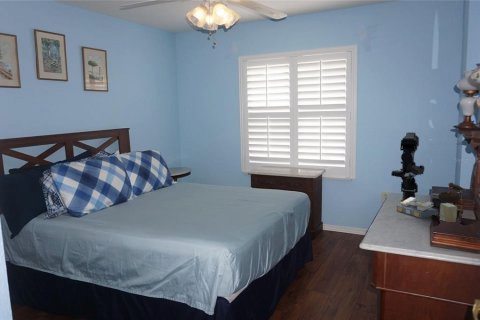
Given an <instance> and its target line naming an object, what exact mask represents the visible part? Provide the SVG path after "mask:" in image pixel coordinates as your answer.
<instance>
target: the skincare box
mask: <svg viewBox="0 0 480 320" xmlns="http://www.w3.org/2000/svg"><path fill="white" fill-rule="evenodd" d="M457 210H458V206H457V205H456V206H455V205H453V203H441V205H440V211H439V213H440V220H443V221H446V222H456V218H457Z"/></svg>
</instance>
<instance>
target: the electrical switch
mask: <svg viewBox="0 0 480 320" xmlns="http://www.w3.org/2000/svg"><path fill="white" fill-rule="evenodd" d="M439 194H440V193H431V195H430V197H431V200H430V202H431V203H433V204H438V205H439V206H440V205H441V203H442V201H440V200H439V198H438V196H439ZM444 203H447V202H444ZM430 208H433V209H437V211H439V212H440V207H437V205H434V206H432V207H430Z"/></svg>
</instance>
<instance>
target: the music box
mask: <svg viewBox="0 0 480 320" xmlns="http://www.w3.org/2000/svg"><path fill="white" fill-rule="evenodd" d="M451 188H452V190H454V191H457V193H455V192H451V190H449V189H451ZM467 190H468V188H463V187H462V186H460V185H459V184H456V183H455V184H454V182H449V183H448V191H447V192H445V191H444V192H440V193H438V194H439V196H438V198H439V200H440V201H442V203H444V202H447V203H450V204H453V205H455V206H457V205H460V209H457V218H463V217H462V216H463V215H462V214H464V210H463V209H462V206H464V205H465V202H462V201H463V200H461V196H460V193H459V191H460V192H461V194H463V191H467ZM460 200H461V201H460ZM431 204H432V203H431ZM432 205H437V207H440V206H439V205H438V204H432ZM438 216H440V212H437V217H438Z"/></svg>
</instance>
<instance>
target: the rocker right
mask: <svg viewBox="0 0 480 320" xmlns="http://www.w3.org/2000/svg"><path fill="white" fill-rule="evenodd" d="M432 204H433V203H432ZM432 204H431V201H426V202H423V204H422V205H419V206H418V207H417V210H421V211H424V210H426V209H428V208H431V207H432V206H434V205H432Z"/></svg>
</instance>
